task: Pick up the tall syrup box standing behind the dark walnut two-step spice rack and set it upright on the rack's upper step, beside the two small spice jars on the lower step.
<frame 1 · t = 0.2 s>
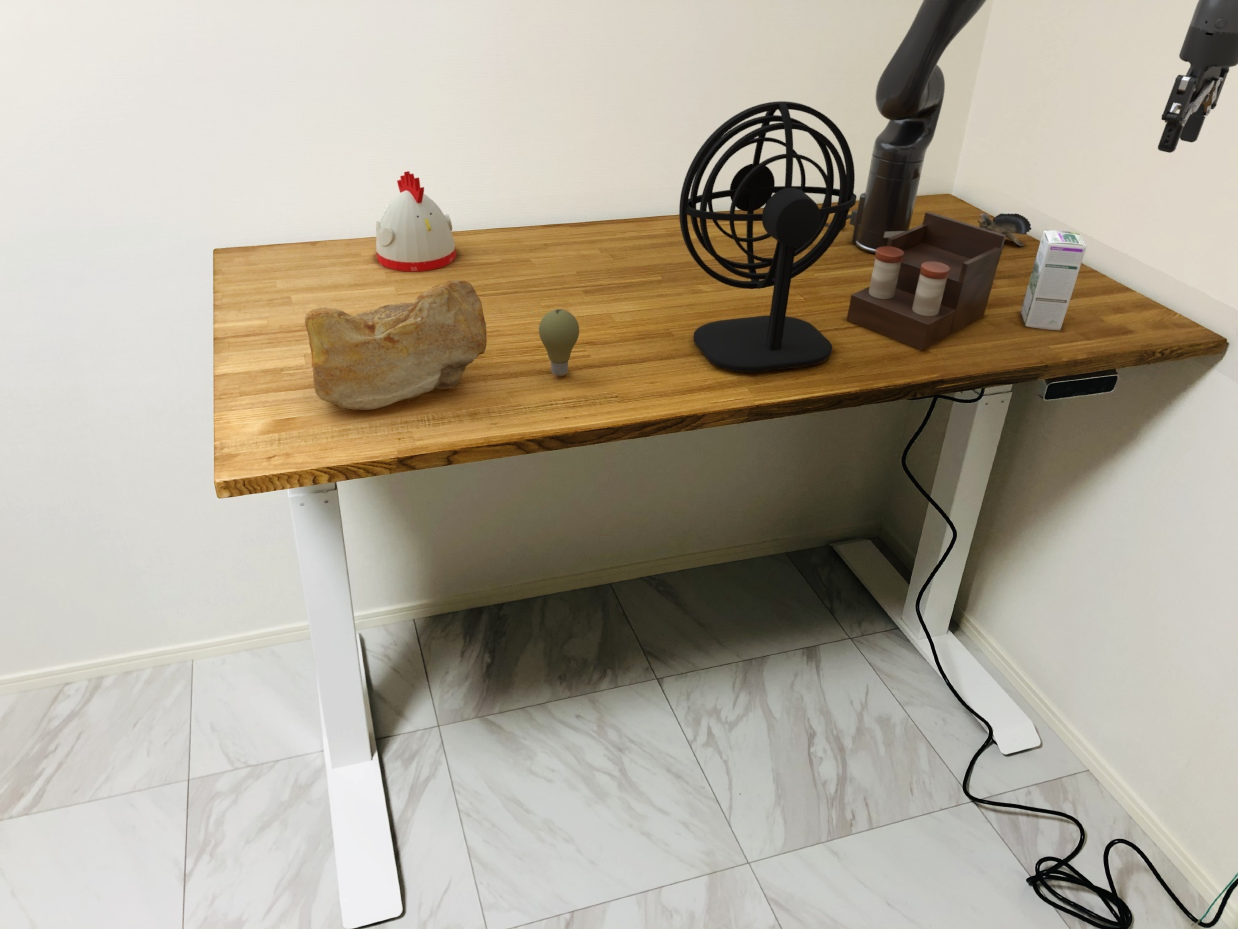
hand: (1176, 145, 136), 29 cm above the table, tool pointing down, fingers open, 8 cm apart
kitchen timer: (416, 257, 167), on the table
squirrel figurine: (998, 244, 182), on the table
desk fan: (760, 346, 142), on the table
light bulb: (559, 376, 133), on the table
spice rack: (915, 318, 152), on the table
syrup box: (1039, 322, 153), on the table
rough brown rock: (400, 382, 130), on the table
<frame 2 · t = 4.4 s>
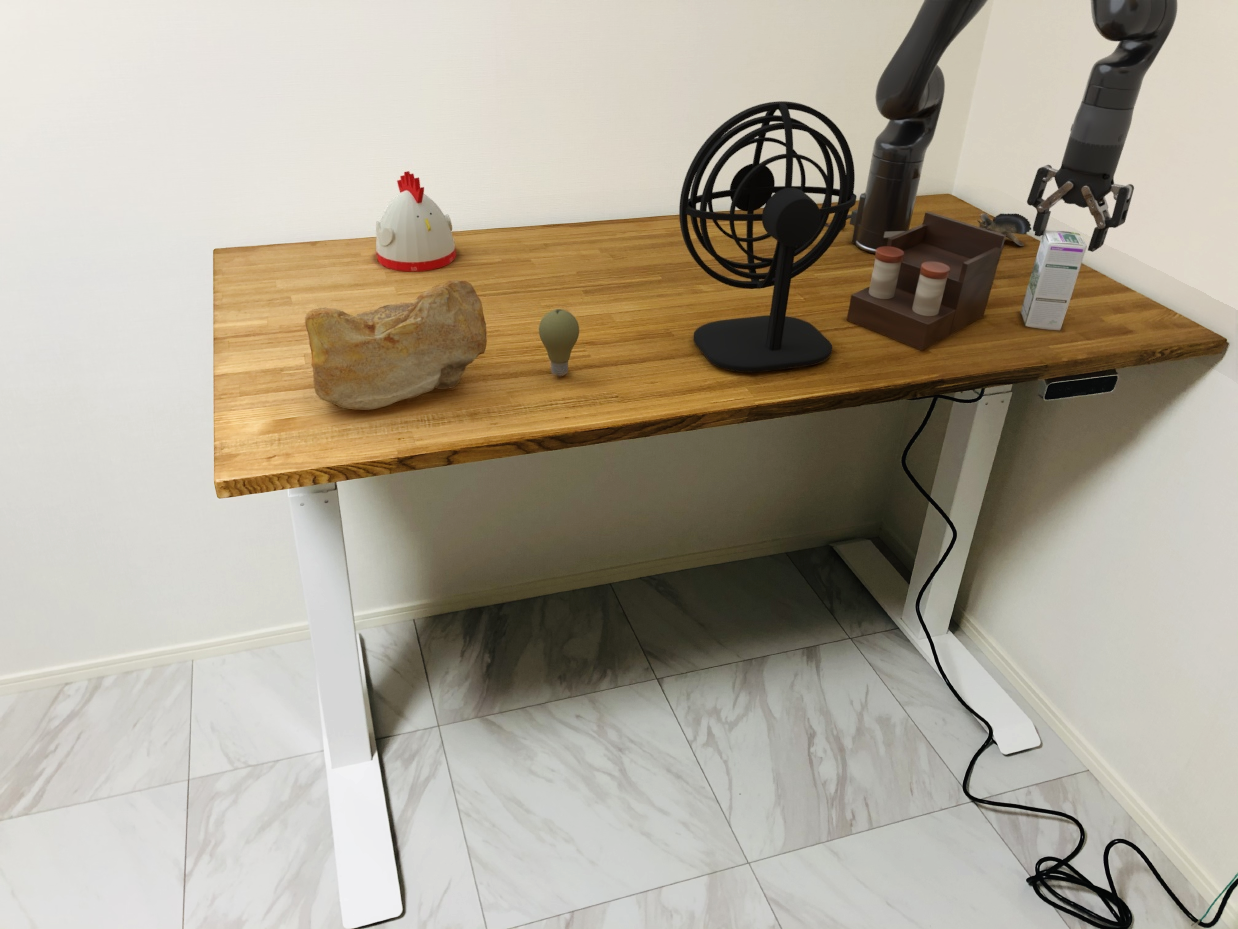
hand: (1065, 242, 145), 14 cm above the table, tool pointing down, fingers open, 8 cm apart
nothing on the table moved.
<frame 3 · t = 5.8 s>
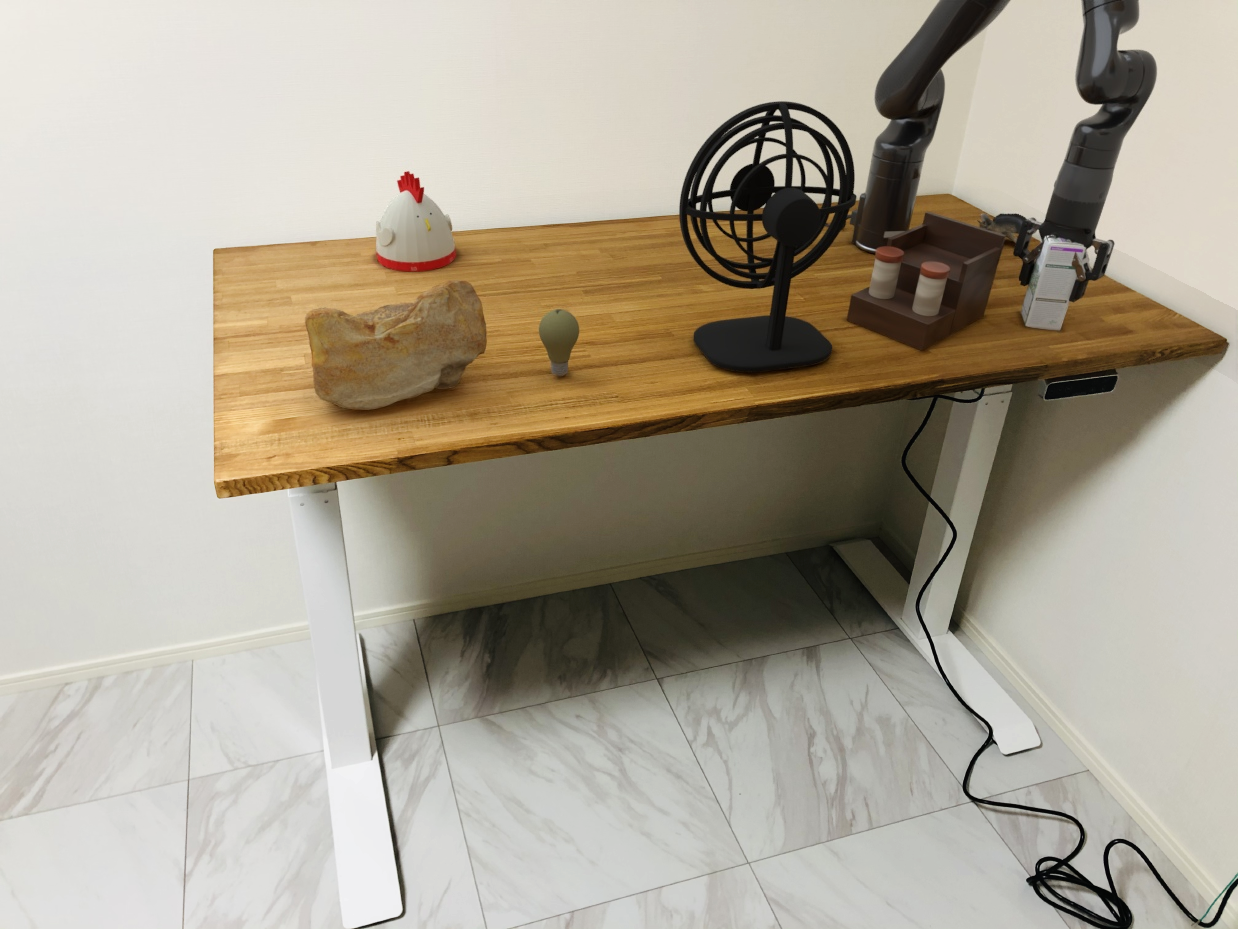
hand: (1048, 292, 150), 5 cm above the table, tool pointing down, fingers closed on syrup box, 7 cm apart
syrup box: (1039, 322, 153), on the table, touching gripper
everything else where it was.
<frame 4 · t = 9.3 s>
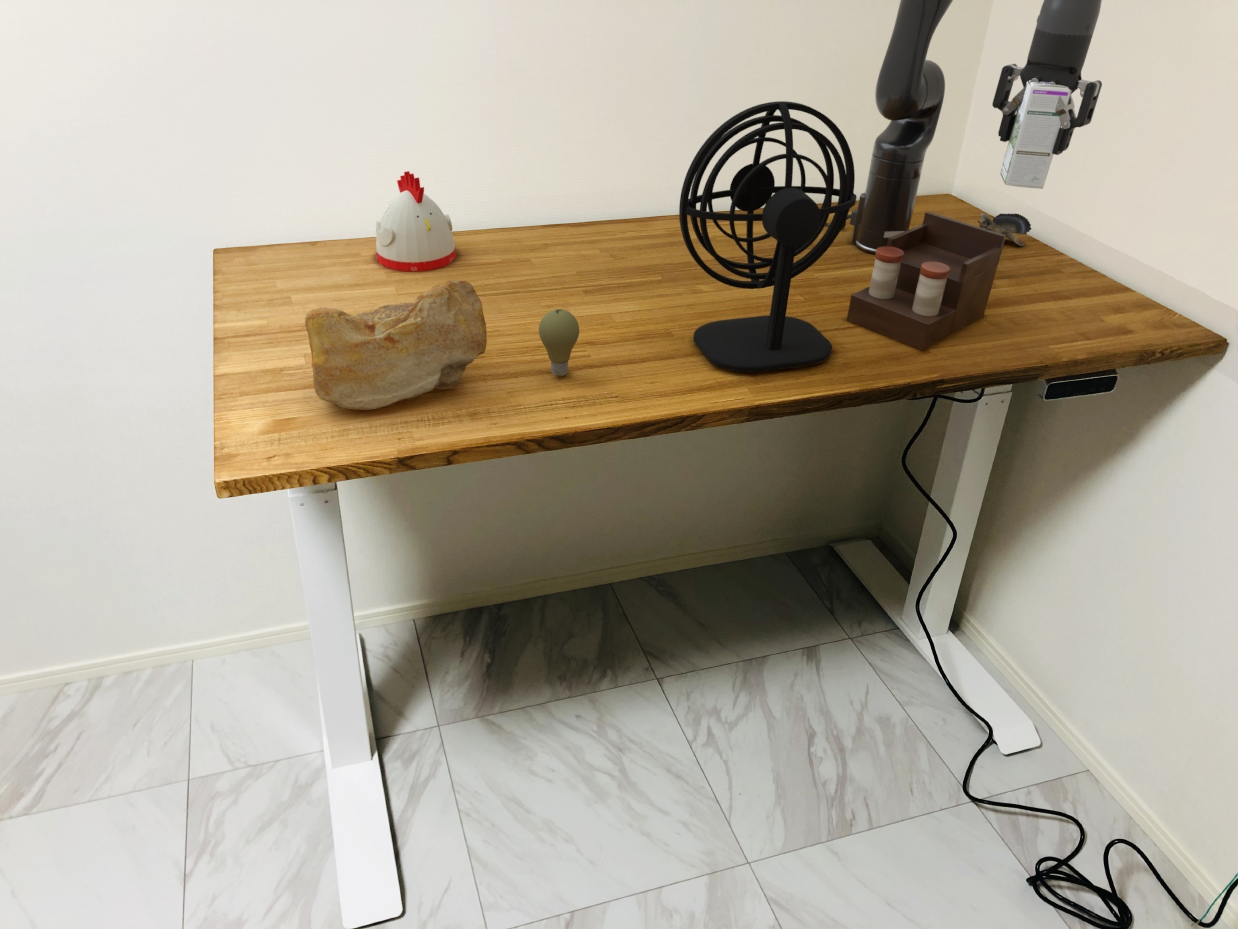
hand: (1030, 146, 138), 28 cm above the table, tool pointing down, fingers closed on syrup box, 7 cm apart
syrup box: (1020, 182, 141), point 22 cm above the table, touching gripper
everything else where it was.
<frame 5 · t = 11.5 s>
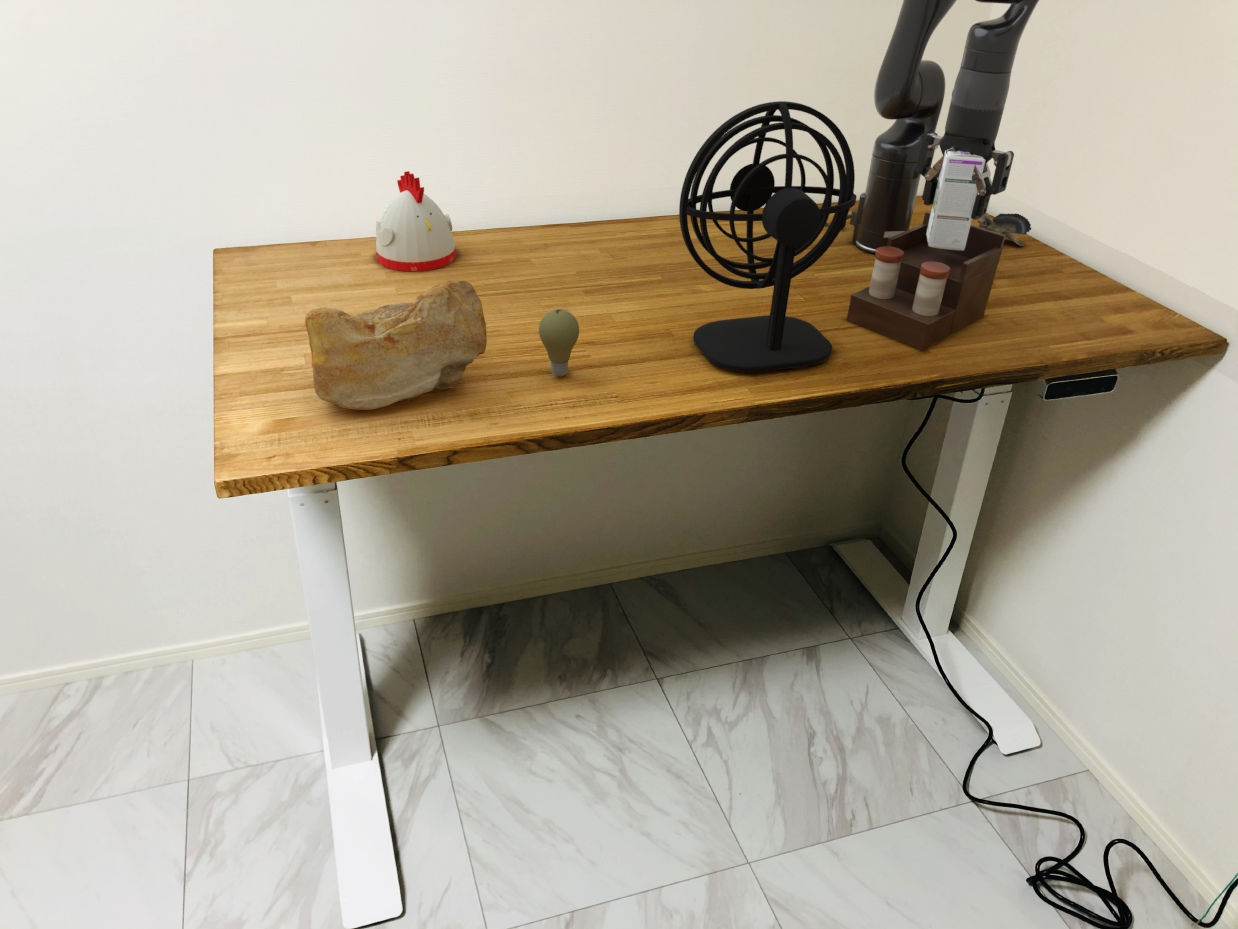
hand: (951, 210, 145), 17 cm above the table, tool pointing down, fingers closed on syrup box, 7 cm apart
syrup box: (943, 244, 147), point 12 cm above the table, touching gripper
everything else where it was.
when the fingers open (14 cm above the table, at t = 13.1 s): syrup box stays where it is, resting on spice rack.
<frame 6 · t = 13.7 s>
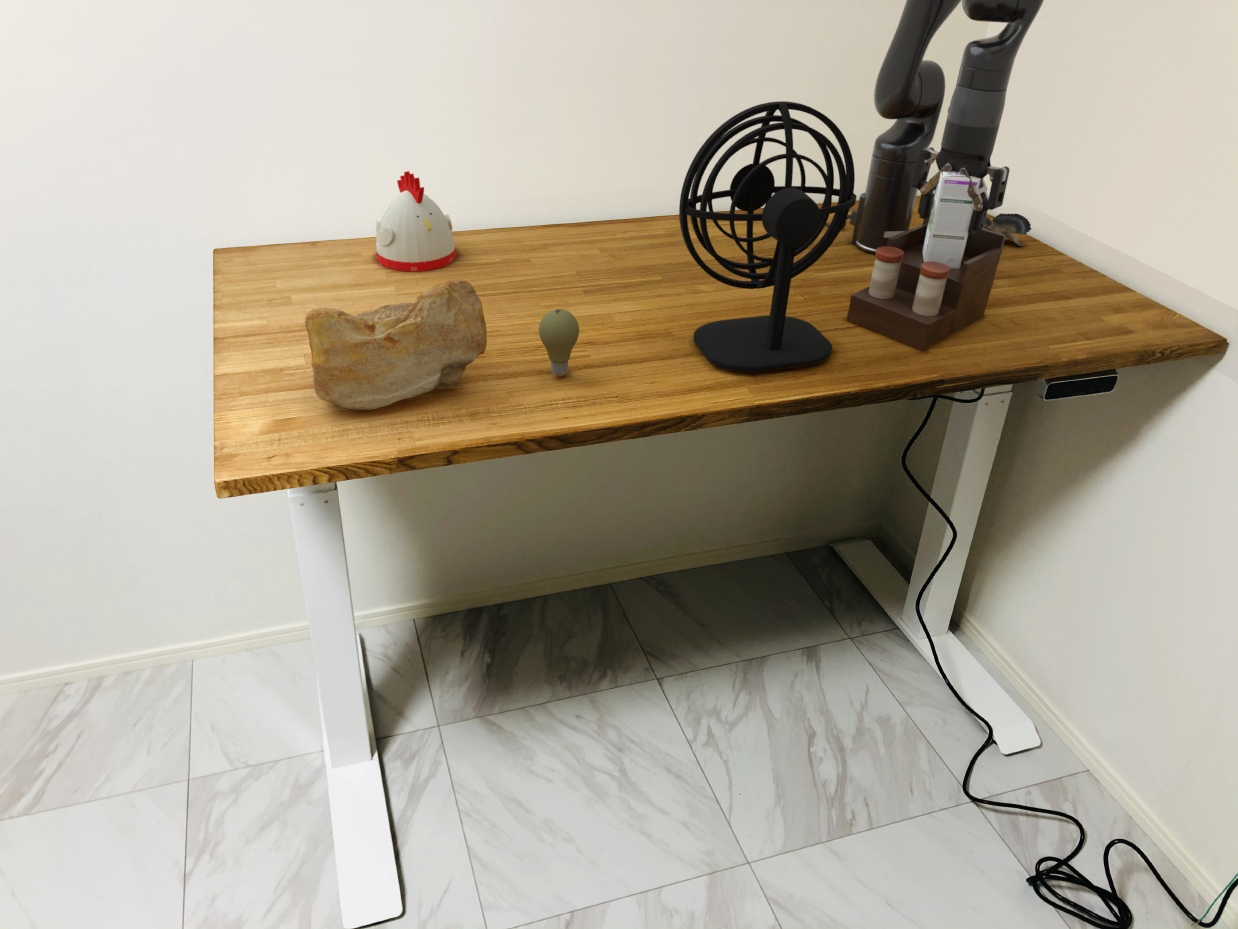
hand: (948, 224, 146), 15 cm above the table, tool pointing down, fingers open, 8 cm apart
syrup box: (939, 262, 149), point 9 cm above the table, touching spice rack
everything else where it was.
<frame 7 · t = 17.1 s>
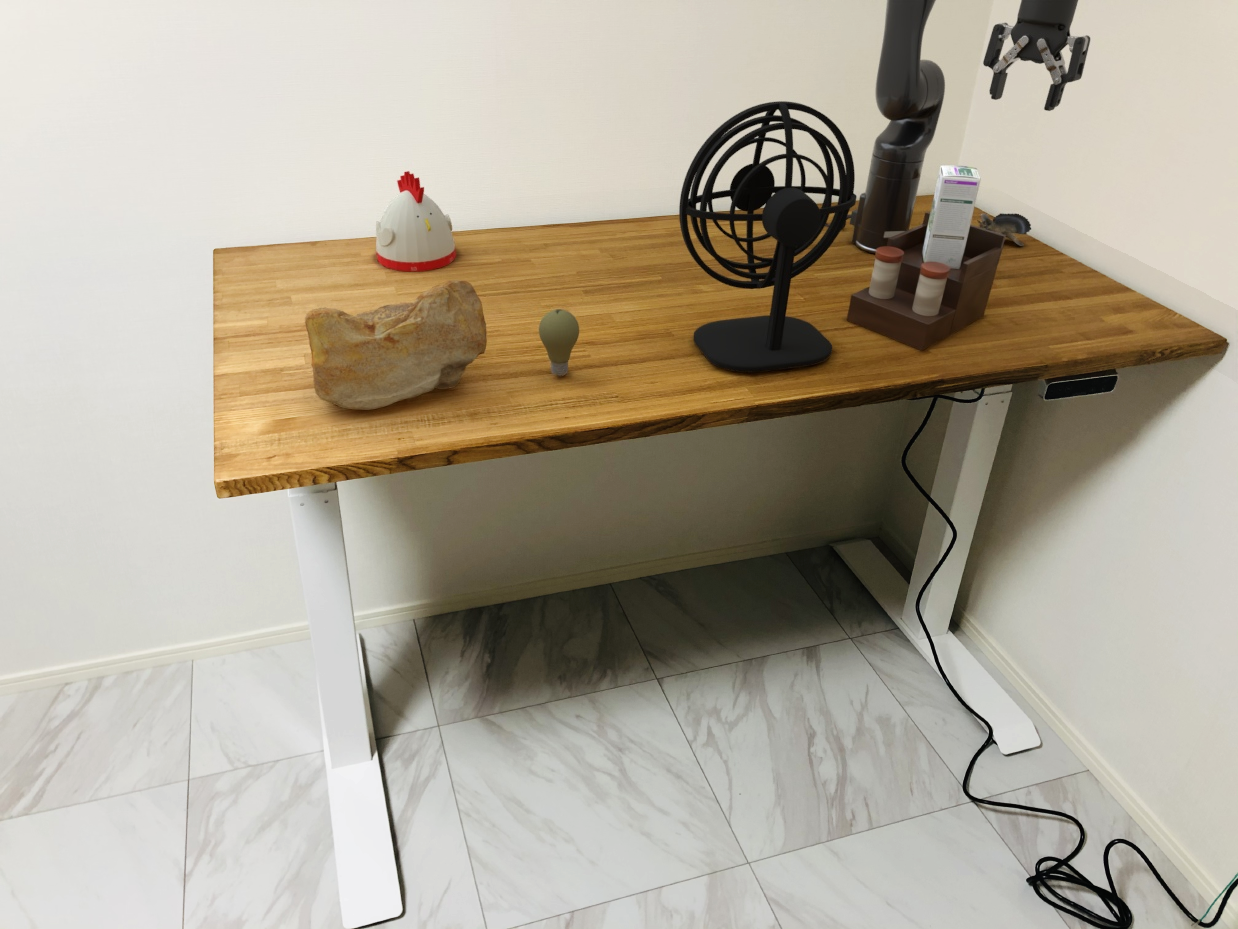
hand: (1021, 104, 141), 32 cm above the table, tool pointing down, fingers open, 8 cm apart
nothing on the table moved.
at the end: syrup box inside the target area on the spice rack (0.1 cm from its centre), point 8.8 cm above the spice rack's base; syrup box tilted 0°; the gripper is holding nothing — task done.
